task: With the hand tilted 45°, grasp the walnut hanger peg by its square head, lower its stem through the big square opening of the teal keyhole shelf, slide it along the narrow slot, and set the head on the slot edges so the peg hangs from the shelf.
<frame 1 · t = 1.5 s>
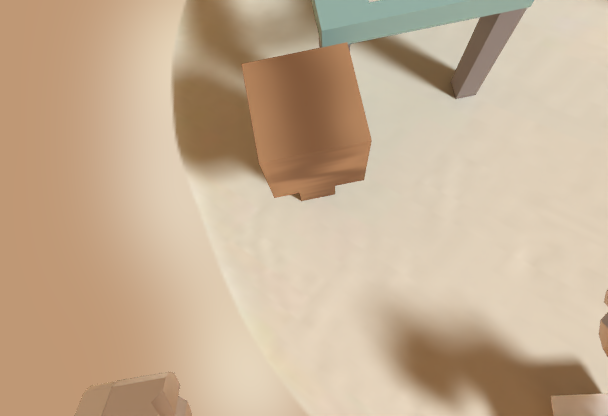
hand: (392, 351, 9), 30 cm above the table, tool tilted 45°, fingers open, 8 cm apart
walnut peg: (314, 181, 41), on the table
keyhole shelf: (378, 27, 45), on the table
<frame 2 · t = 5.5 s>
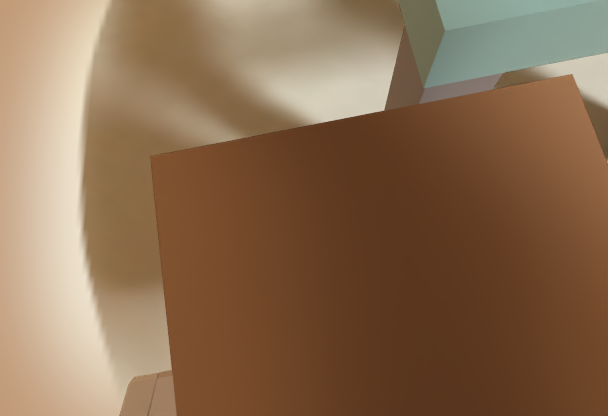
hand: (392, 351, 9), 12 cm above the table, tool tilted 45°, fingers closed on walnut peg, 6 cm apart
walnut peg: (354, 338, 20), on the table, touching gripper
keyhole shelf: (466, 31, 24), on the table
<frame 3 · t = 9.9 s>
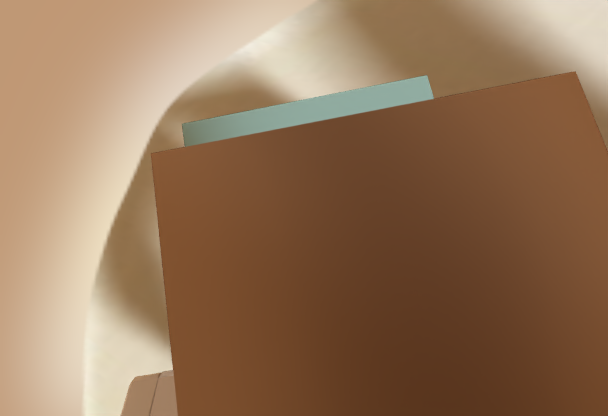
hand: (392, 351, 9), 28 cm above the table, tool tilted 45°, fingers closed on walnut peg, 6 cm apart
walnut peg: (354, 338, 20), point 16 cm above the table, touching gripper
keyhole shelf: (335, 285, 37), on the table
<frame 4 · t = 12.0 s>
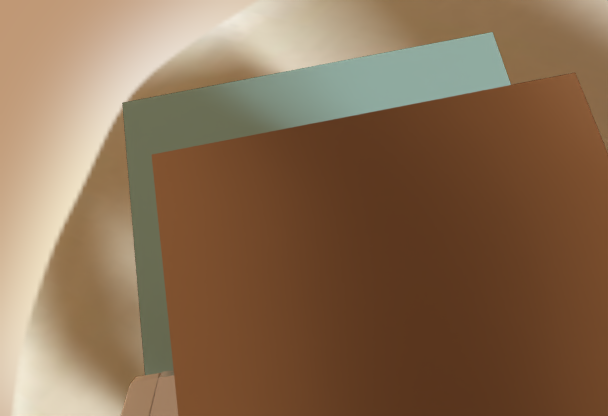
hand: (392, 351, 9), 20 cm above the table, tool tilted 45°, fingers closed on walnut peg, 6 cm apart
walnut peg: (354, 338, 20), point 8 cm above the table, touching gripper
keyhole shelf: (344, 324, 28), on the table
when the fingers open (19 cm above the table, at t = 14.0 s): walnut peg stays where it is, resting on keyhole shelf.
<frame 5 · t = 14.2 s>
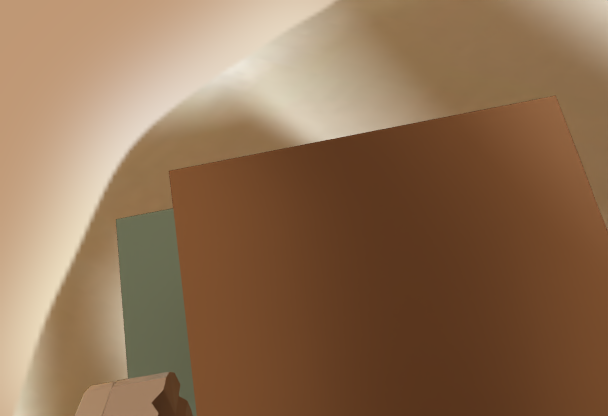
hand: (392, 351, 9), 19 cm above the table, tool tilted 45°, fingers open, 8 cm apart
walnut peg: (355, 338, 21), point 6 cm above the table, touching keyhole shelf
keyhole shelf: (363, 413, 26), on the table
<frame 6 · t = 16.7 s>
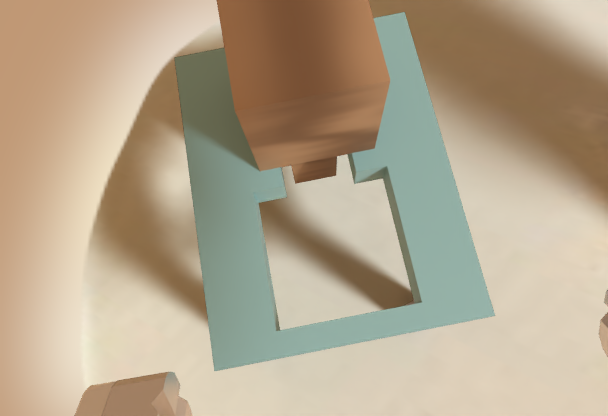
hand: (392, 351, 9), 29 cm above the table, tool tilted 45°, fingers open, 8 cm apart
walnut peg: (311, 160, 34), point 6 cm above the table, touching keyhole shelf
keyhole shelf: (322, 231, 39), on the table
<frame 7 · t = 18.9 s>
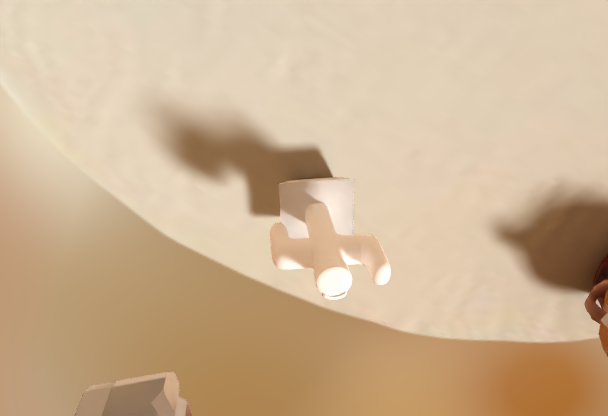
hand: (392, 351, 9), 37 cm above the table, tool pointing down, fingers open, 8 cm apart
figurine: (312, 196, 49), on the table
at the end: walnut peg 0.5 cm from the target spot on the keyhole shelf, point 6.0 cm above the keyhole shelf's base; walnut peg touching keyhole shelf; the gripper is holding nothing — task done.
